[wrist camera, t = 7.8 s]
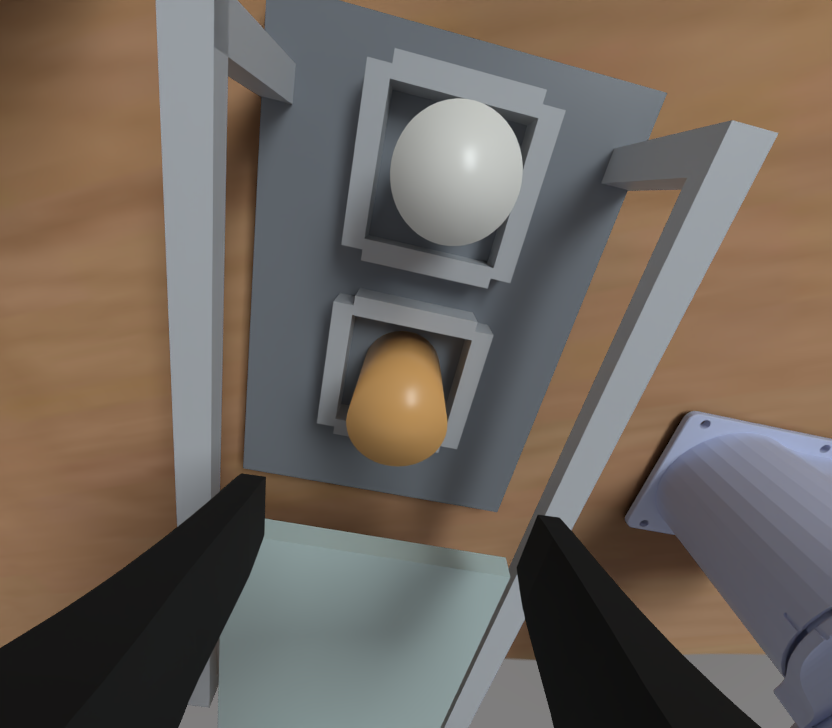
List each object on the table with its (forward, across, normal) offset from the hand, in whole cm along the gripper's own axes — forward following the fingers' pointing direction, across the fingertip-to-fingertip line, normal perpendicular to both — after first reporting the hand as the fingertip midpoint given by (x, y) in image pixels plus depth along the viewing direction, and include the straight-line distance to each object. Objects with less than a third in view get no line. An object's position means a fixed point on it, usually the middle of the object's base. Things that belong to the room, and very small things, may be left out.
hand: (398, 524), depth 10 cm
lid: (+3, +1, +11) cm, 11 cm away
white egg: (+9, 0, -9) cm, 12 cm away
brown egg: (+9, 0, -1) cm, 9 cm away
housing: (+10, 0, +2) cm, 10 cm away
